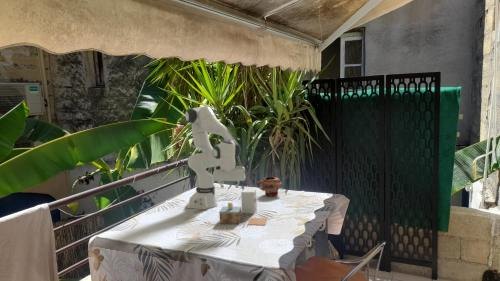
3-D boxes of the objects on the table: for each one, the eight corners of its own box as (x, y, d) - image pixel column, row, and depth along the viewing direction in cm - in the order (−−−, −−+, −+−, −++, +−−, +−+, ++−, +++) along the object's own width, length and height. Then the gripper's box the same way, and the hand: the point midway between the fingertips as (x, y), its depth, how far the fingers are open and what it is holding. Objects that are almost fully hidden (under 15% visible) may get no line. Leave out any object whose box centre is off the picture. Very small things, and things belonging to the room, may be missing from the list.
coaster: (247, 224, 216) (247, 224, 216) (250, 218, 226) (250, 217, 226) (265, 225, 214) (265, 224, 214) (267, 218, 225) (267, 218, 225)
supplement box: (254, 214, 235) (253, 192, 233) (241, 213, 237) (240, 192, 235) (257, 209, 244) (256, 188, 242) (244, 209, 245) (243, 188, 243)
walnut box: (219, 224, 219) (219, 213, 218) (223, 218, 229) (223, 207, 228) (238, 224, 217) (238, 213, 216) (241, 218, 227) (241, 208, 226)
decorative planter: (257, 198, 270) (257, 180, 268) (256, 193, 282) (255, 176, 280) (283, 196, 271) (282, 179, 269) (280, 192, 283) (280, 175, 282)
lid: (219, 214, 218) (219, 205, 217) (223, 209, 228) (222, 200, 227) (238, 215, 216) (238, 205, 215) (241, 209, 226) (240, 200, 225)
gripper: (245, 164, 220) (246, 186, 221) (214, 165, 223) (215, 186, 224) (244, 166, 213) (245, 189, 215) (211, 167, 217) (212, 189, 218)
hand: (229, 187), depth 220 cm, fingers open, 8 cm apart
